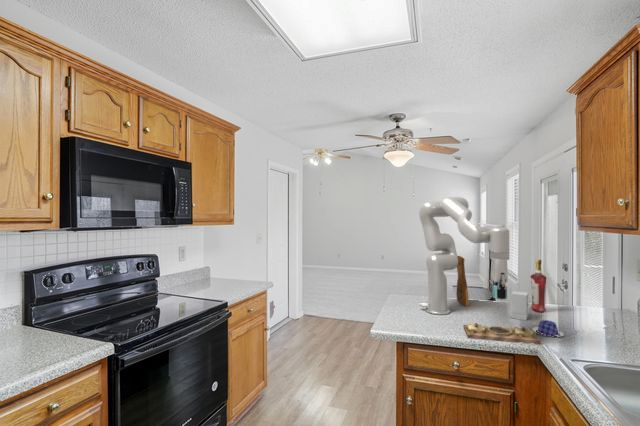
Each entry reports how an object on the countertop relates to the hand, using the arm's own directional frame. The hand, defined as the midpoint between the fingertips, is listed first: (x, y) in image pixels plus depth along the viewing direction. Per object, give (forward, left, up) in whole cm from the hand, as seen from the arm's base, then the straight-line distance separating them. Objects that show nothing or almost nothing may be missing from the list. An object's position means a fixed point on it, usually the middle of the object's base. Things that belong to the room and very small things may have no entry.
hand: (499, 296), depth 151 cm
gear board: (0, 0, -17) cm, 17 cm away
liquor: (+29, +44, -18) cm, 56 cm away
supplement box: (+16, +30, -18) cm, 38 cm away
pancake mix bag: (-9, +52, -18) cm, 56 cm away
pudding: (+22, +9, -18) cm, 30 cm away
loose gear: (0, 0, -1) cm, 1 cm away
